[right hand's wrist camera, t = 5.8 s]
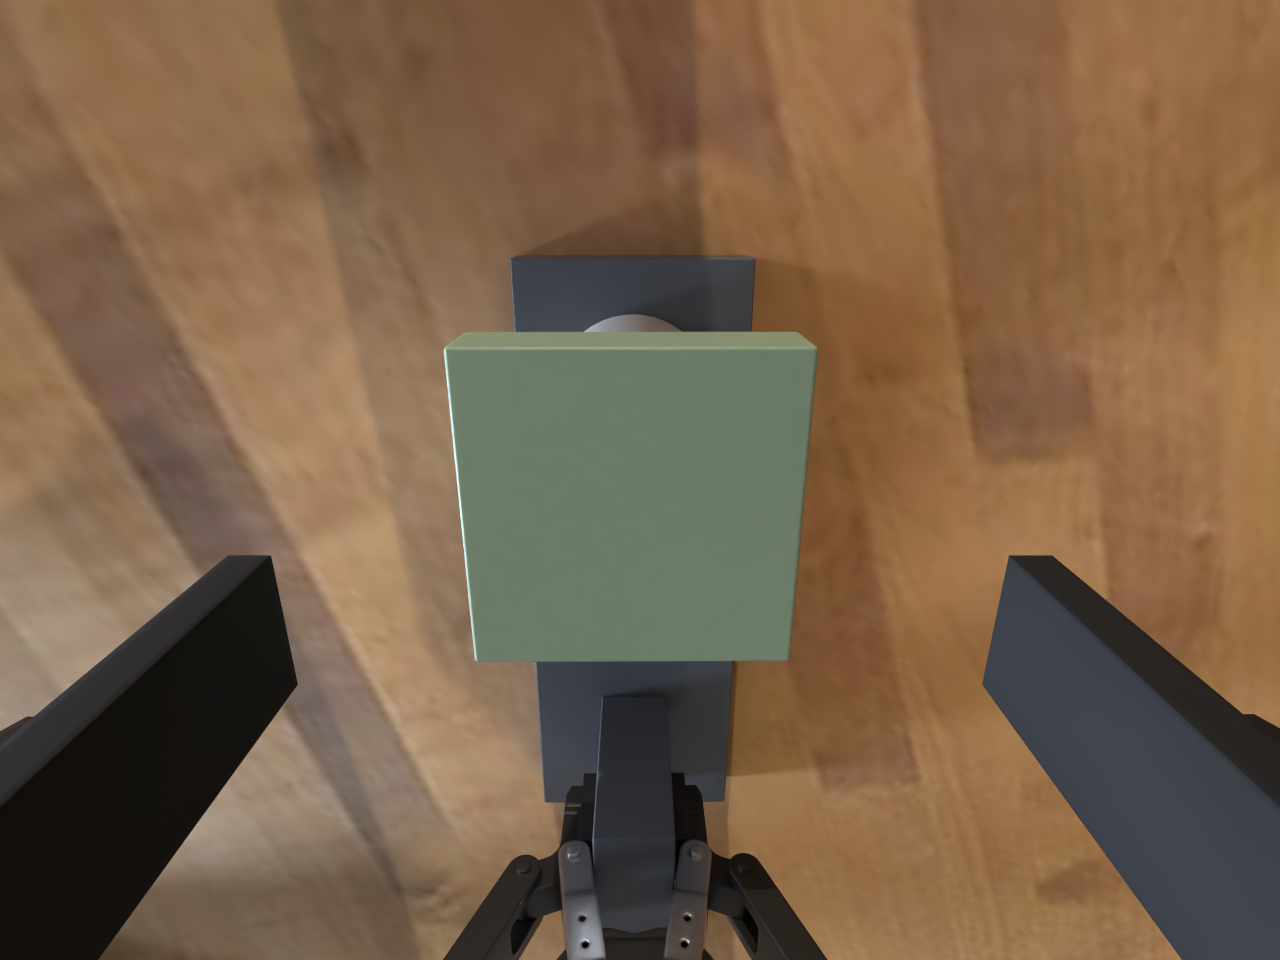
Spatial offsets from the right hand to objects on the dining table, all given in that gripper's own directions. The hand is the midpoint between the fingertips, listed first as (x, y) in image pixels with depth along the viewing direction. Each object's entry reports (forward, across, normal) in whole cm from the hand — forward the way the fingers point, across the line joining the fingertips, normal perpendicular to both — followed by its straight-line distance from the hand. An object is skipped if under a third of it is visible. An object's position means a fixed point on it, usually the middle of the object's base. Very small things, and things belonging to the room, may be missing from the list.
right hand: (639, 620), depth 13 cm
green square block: (+8, 0, 0) cm, 8 cm away
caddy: (+18, 0, -8) cm, 19 cm away
